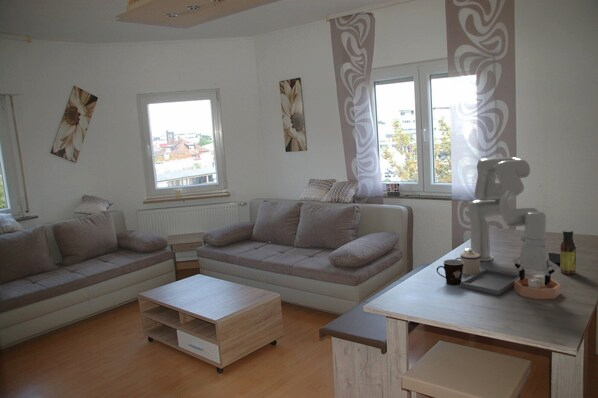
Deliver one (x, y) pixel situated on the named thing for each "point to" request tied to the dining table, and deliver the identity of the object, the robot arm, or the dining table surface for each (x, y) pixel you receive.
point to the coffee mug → (452, 271)
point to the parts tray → (490, 282)
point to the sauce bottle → (568, 253)
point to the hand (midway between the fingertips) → (534, 281)
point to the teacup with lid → (470, 262)
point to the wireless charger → (554, 258)
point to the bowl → (549, 293)
